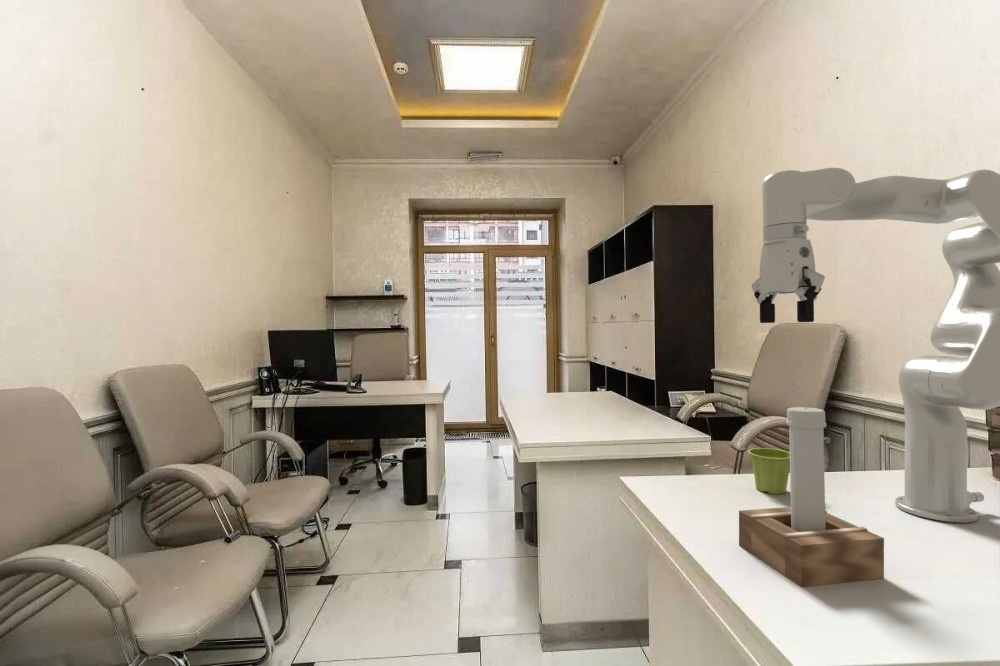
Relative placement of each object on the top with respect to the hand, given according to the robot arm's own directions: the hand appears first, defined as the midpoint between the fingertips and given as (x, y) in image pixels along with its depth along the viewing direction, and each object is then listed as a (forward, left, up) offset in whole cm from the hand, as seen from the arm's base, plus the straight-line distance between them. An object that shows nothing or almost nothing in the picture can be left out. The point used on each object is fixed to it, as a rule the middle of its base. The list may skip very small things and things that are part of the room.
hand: (785, 322), depth 99 cm
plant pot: (-8, -15, -39) cm, 42 cm away
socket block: (+11, +17, -39) cm, 44 cm away
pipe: (+10, +17, -39) cm, 44 cm away
